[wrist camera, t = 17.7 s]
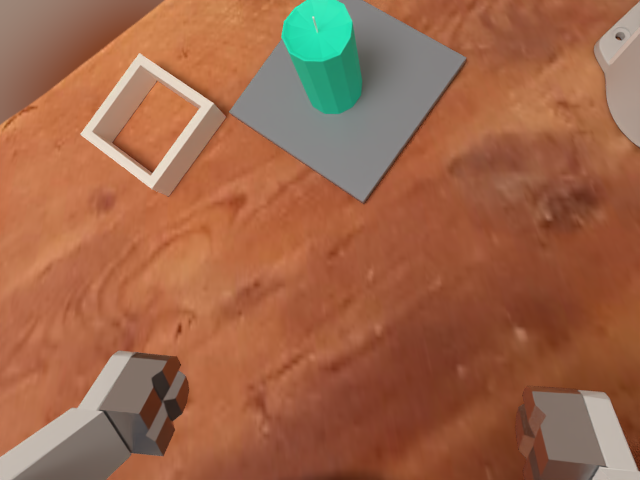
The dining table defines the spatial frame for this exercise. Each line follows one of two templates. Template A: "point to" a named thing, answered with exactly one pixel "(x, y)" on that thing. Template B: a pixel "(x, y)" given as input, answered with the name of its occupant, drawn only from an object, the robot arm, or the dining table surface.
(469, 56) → the dining table surface
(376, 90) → the slate tile
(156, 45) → the dining table surface
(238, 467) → the dining table surface
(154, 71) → the square frame
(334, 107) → the candle
